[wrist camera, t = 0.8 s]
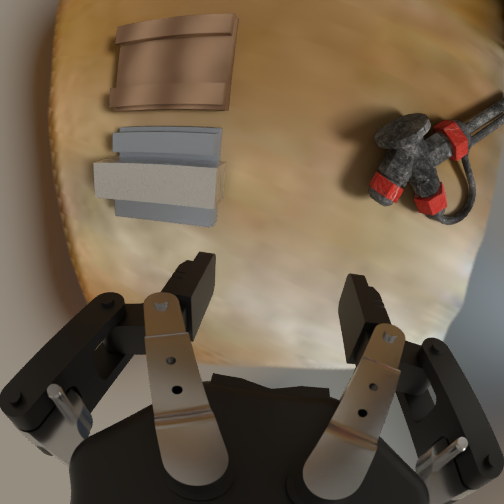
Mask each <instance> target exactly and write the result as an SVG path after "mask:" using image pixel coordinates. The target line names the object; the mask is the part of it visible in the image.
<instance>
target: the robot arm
mask: <svg viewBox="0 0 504 504" xmlns="http://www.w3.org/2000/svg"><path fill="white" fill-rule="evenodd" d="M215 264H216V256H215V254H212V253H206V252H199V253H198V254H197V256H196V258H195V259H194V261H190V260H187V261H185V262H183V263H182V264H180V265H179V266H178V268H177V269H176V270H175V272H174V273H173V275H172V277H171V278H170V279H169V281H168V282H167V284H166V285H165V287H164V288H163V289H162V291H161V292H158V293H154V294H151V295H149V296H148V297H147V298H146V299H145V300H144V303H142V304H125V302H124V298H123V297H122V296H121V295H120V294H118V293H114V292H107V293H103V294H100V295H98V296H97V297H95V298H94V299H93V300H92V301H91V302H90V303H89V304H88V305H86V306H85V307H84V308H83V309H82V310H81V311H80V312H79V313H78V314H77V315H76V316H74V318H72V319H71V320H70V321H69V322H68V323H67V324H66V325H65V326H64V327H63V328H62V329H61V330H60V331H59V332H58V333H57V334H56V335H55V336H54V337H53V338H52V339H50V340H49V341H48V342H47V343H46V344H45V345H44V346H43V347H42V348H41V349H40V350H39V352H37V353H36V354H35V355H34V357H33V358H32V359H31V360H30V361H29V362H28V363H27V364H26V365H25V366H24V367H23V368H22V369H21V370H20V371H19V372H18V373H17V374H16V375H15V376H14V378H13V379H12V380H11V381H10V382H9V383H8V384H7V385H6V386H5V387H4V389H3V390H2V392H1V394H0V408H1V409H2V411H3V412H4V413H5V414H6V416H7V417H8V418H9V419H10V420H11V421H12V422H13V424H14V426H15V427H16V428H17V429H18V430H19V431H20V432H21V433H22V434H23V435H24V436H25V437H26V438H27V439H28V440H29V441H30V442H31V443H32V444H34V445H35V446H37V447H38V448H39V449H40V450H41V451H42V452H43V453H45V454H47V455H50V456H55V457H56V458H57V459H58V460H60V461H61V462H63V463H64V464H65V465H67V466H68V467H69V474H70V481H71V502H70V504H452V503H454V502H456V501H458V500H460V499H462V498H463V497H465V496H467V495H469V494H470V493H472V492H474V491H476V490H477V489H479V488H480V487H482V486H484V485H485V484H487V483H488V482H490V481H491V480H493V479H495V478H496V477H498V476H499V475H500V473H501V472H502V470H503V466H504V458H503V454H502V451H501V449H500V447H499V444H498V442H497V440H496V437H495V435H494V433H493V430H492V428H491V426H490V424H489V422H488V420H487V418H486V415H485V413H484V411H483V409H482V407H481V405H480V403H479V401H478V399H477V398H476V395H475V394H474V392H473V390H472V388H471V386H470V384H469V382H468V381H467V379H466V377H465V375H464V373H463V372H462V370H461V368H460V366H459V365H458V363H457V361H456V359H455V358H454V356H453V355H452V353H451V351H450V349H449V348H448V346H447V345H446V344H445V343H444V342H442V341H441V340H439V339H436V338H427V339H425V340H424V342H423V343H422V345H417V344H414V343H411V342H408V341H406V340H405V335H404V333H403V332H402V331H401V330H400V329H399V328H398V327H396V326H394V325H391V322H390V319H389V317H388V314H387V311H386V309H385V308H384V304H383V302H382V299H381V296H380V294H379V293H378V292H377V291H376V290H375V289H374V288H373V287H369V286H368V283H367V281H366V278H365V276H364V275H357V274H348V276H347V278H346V282H345V285H344V288H343V292H342V295H341V298H340V301H339V307H338V314H339V319H340V325H341V331H342V337H343V343H344V349H345V355H346V362H347V363H348V364H355V365H356V368H355V370H354V372H353V374H352V376H351V378H350V380H349V382H348V384H347V386H346V388H345V390H344V392H343V394H342V396H341V398H340V400H337V399H335V398H332V397H330V394H329V388H317V387H305V386H298V387H289V388H278V389H270V388H267V387H264V386H261V385H258V384H256V383H253V382H250V381H247V380H245V379H242V378H237V377H231V376H225V375H220V374H215V373H213V375H212V379H211V381H205V382H202V380H201V377H200V374H199V370H198V366H197V362H196V359H195V355H194V352H193V348H192V344H191V341H192V342H193V341H194V338H195V336H196V333H197V331H198V329H199V326H200V324H201V321H202V319H203V316H204V314H205V312H206V309H207V307H208V304H209V302H210V300H211V297H212V295H213V291H214V286H215ZM102 341H103V342H102ZM101 342H102V343H101ZM100 343H101V345H99V344H100ZM98 345H99V347H98V348H97V346H98ZM96 348H97V349H96ZM95 349H96V350H95ZM134 354H136V355H146V358H147V367H148V374H149V383H150V390H151V397H152V405H149V406H148V407H146V408H144V409H142V410H140V411H138V412H137V413H135V414H133V415H131V416H129V417H127V418H125V419H123V420H122V421H120V422H118V423H116V424H114V425H112V426H110V427H108V428H106V429H104V430H102V431H100V432H98V433H96V434H94V435H92V436H90V437H89V434H90V430H91V428H92V425H93V418H92V415H91V412H92V411H93V409H94V408H95V406H96V405H97V404H98V402H99V401H100V400H101V398H102V397H103V395H104V394H105V393H106V392H107V390H108V389H109V387H110V386H111V385H112V383H113V382H114V381H115V379H116V378H117V377H118V375H119V374H120V373H121V371H122V370H123V369H124V367H125V366H126V365H127V363H128V362H129V361H130V359H131V358H132V357H133V355H134ZM430 384H431V385H432V388H433V390H434V392H435V394H436V398H437V399H436V400H437V401H436V405H434V402H433V400H432V398H431V396H430V393H429V391H428V389H427V388H428V387H429V386H430ZM395 392H396V394H397V397H398V400H399V403H400V405H401V408H402V411H403V414H404V416H405V419H406V422H407V425H408V428H409V430H410V434H411V437H412V440H413V443H414V446H415V449H416V453H417V456H418V460H417V463H416V467H415V470H416V471H415V472H414V471H413V470H412V469H411V468H410V467H409V466H408V465H407V464H406V463H405V462H404V461H403V460H402V459H401V458H400V457H399V456H398V455H397V454H396V453H395V452H394V451H393V450H392V449H391V448H390V447H389V445H388V444H387V443H386V442H384V440H383V439H382V438H381V437H380V433H381V431H382V428H383V425H384V423H385V419H386V417H387V414H388V411H389V408H390V405H391V403H392V400H393V396H394V393H395Z"/></svg>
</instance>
